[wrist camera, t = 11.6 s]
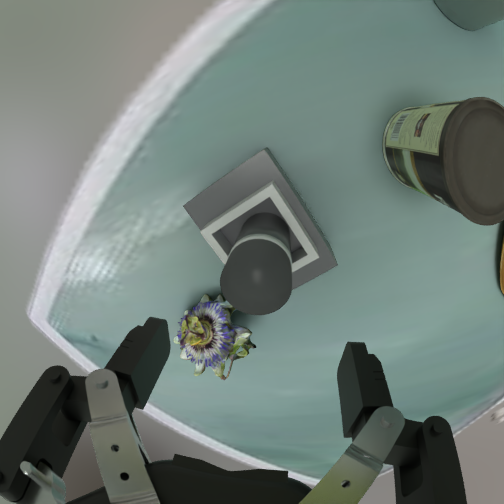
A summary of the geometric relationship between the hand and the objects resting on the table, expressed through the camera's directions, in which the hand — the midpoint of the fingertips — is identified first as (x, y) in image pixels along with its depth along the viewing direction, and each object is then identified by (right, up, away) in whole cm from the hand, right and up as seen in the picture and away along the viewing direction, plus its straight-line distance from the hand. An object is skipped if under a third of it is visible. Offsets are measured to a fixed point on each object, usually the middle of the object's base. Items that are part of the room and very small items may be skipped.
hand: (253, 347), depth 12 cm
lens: (+1, +6, +17) cm, 18 cm away
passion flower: (-4, -5, +28) cm, 29 cm away
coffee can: (+20, +17, +16) cm, 30 cm away
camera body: (+1, +8, +21) cm, 23 cm away
